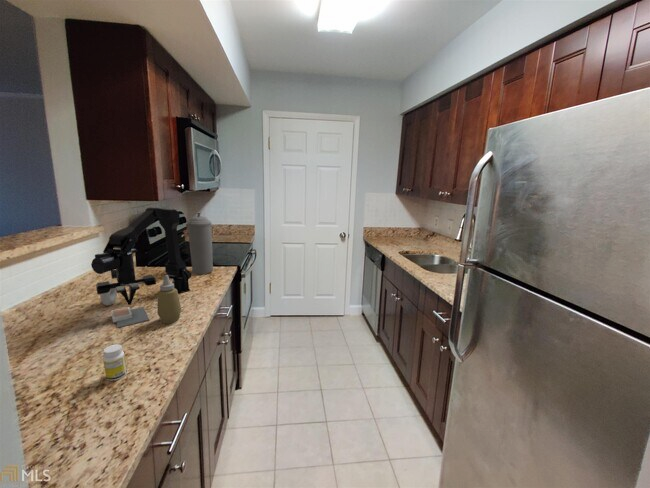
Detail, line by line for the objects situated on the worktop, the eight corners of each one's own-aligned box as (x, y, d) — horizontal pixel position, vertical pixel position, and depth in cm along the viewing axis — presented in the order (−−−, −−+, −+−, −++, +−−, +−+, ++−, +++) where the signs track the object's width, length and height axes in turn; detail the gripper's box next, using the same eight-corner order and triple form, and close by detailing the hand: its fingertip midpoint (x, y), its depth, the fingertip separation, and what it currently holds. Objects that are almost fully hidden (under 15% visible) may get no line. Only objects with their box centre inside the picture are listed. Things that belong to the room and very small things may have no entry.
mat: (143, 307, 122) (143, 307, 122) (149, 320, 111) (149, 319, 111) (114, 314, 116) (114, 313, 116) (117, 328, 105) (117, 327, 105)
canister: (206, 267, 179) (202, 210, 171) (219, 271, 171) (215, 212, 164) (186, 272, 168) (181, 212, 161) (198, 277, 161) (194, 213, 154)
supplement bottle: (113, 370, 82) (109, 343, 81) (130, 369, 83) (127, 343, 81) (101, 381, 78) (97, 353, 76) (120, 381, 78) (116, 353, 76)
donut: (109, 309, 120) (106, 286, 118) (100, 309, 119) (96, 286, 117) (120, 299, 130) (117, 278, 128) (111, 300, 129) (108, 278, 127)
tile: (131, 313, 112) (112, 318, 108) (132, 318, 112) (113, 322, 109) (129, 306, 118) (110, 310, 114) (129, 310, 118) (111, 314, 115)
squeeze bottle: (186, 317, 115) (183, 273, 111) (170, 326, 107) (165, 280, 103) (170, 314, 117) (166, 271, 113) (153, 323, 110) (148, 277, 106)
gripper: (149, 258, 123) (153, 293, 126) (93, 265, 111) (98, 303, 114) (154, 264, 114) (158, 301, 118) (94, 272, 103) (100, 313, 106)
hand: (129, 304), depth 114 cm, fingers closed
